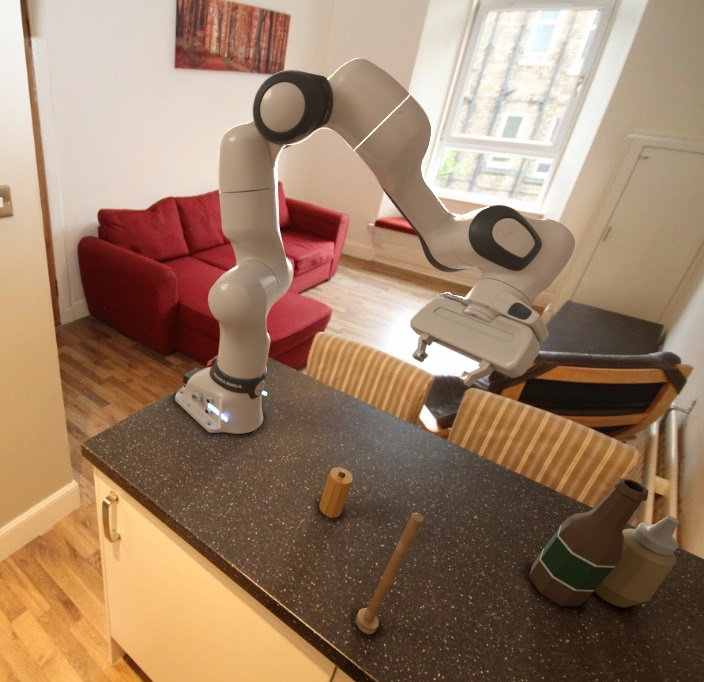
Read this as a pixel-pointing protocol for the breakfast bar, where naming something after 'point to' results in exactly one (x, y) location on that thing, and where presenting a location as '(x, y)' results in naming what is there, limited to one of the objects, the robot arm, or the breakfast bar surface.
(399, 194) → the robot arm
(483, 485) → the breakfast bar surface
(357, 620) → the brown wooden rod
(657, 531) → the squeeze bottle
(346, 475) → the cylinder
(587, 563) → the beer bottle
